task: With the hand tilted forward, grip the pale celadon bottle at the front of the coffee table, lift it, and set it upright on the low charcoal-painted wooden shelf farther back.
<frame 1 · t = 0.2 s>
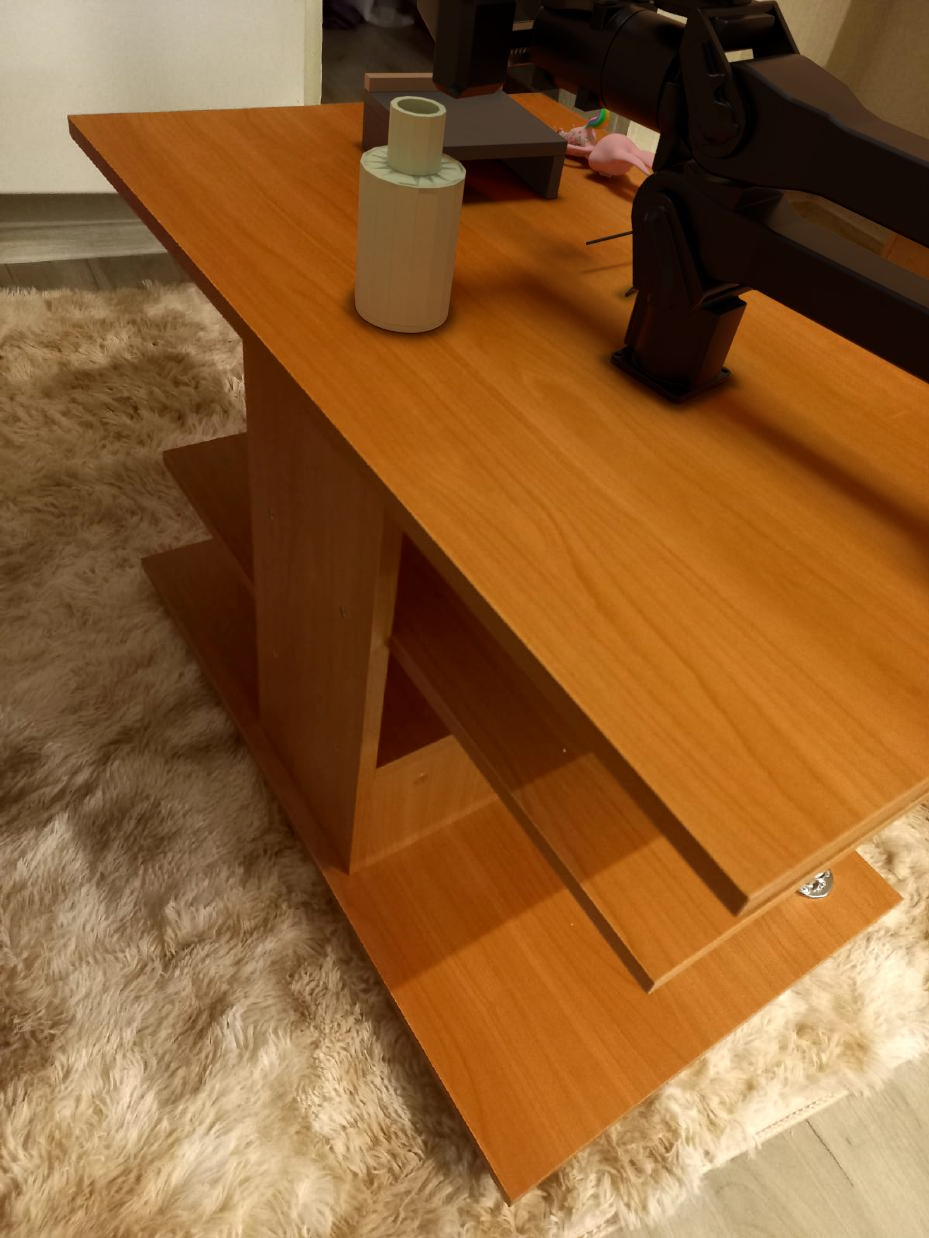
reed diffuser: (672, 259, 76), on the table
shelf: (457, 171, 83), on the table
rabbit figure: (601, 175, 87), on the table
bottle: (401, 308, 64), on the table
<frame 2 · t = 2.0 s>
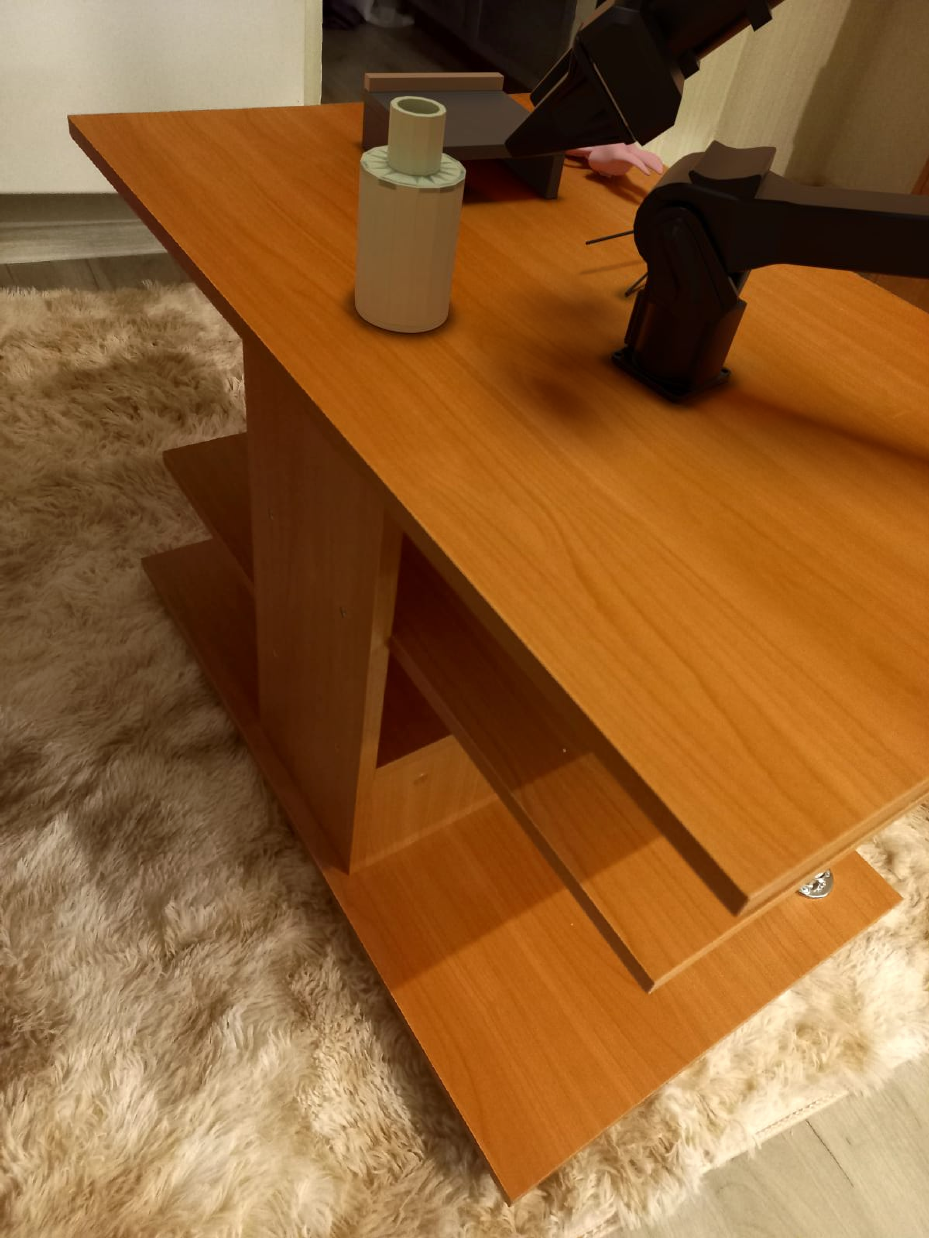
hand: (521, 125, 54), 14 cm above the table, tool tilted 45°, fingers open, 9 cm apart
nothing on the table moved.
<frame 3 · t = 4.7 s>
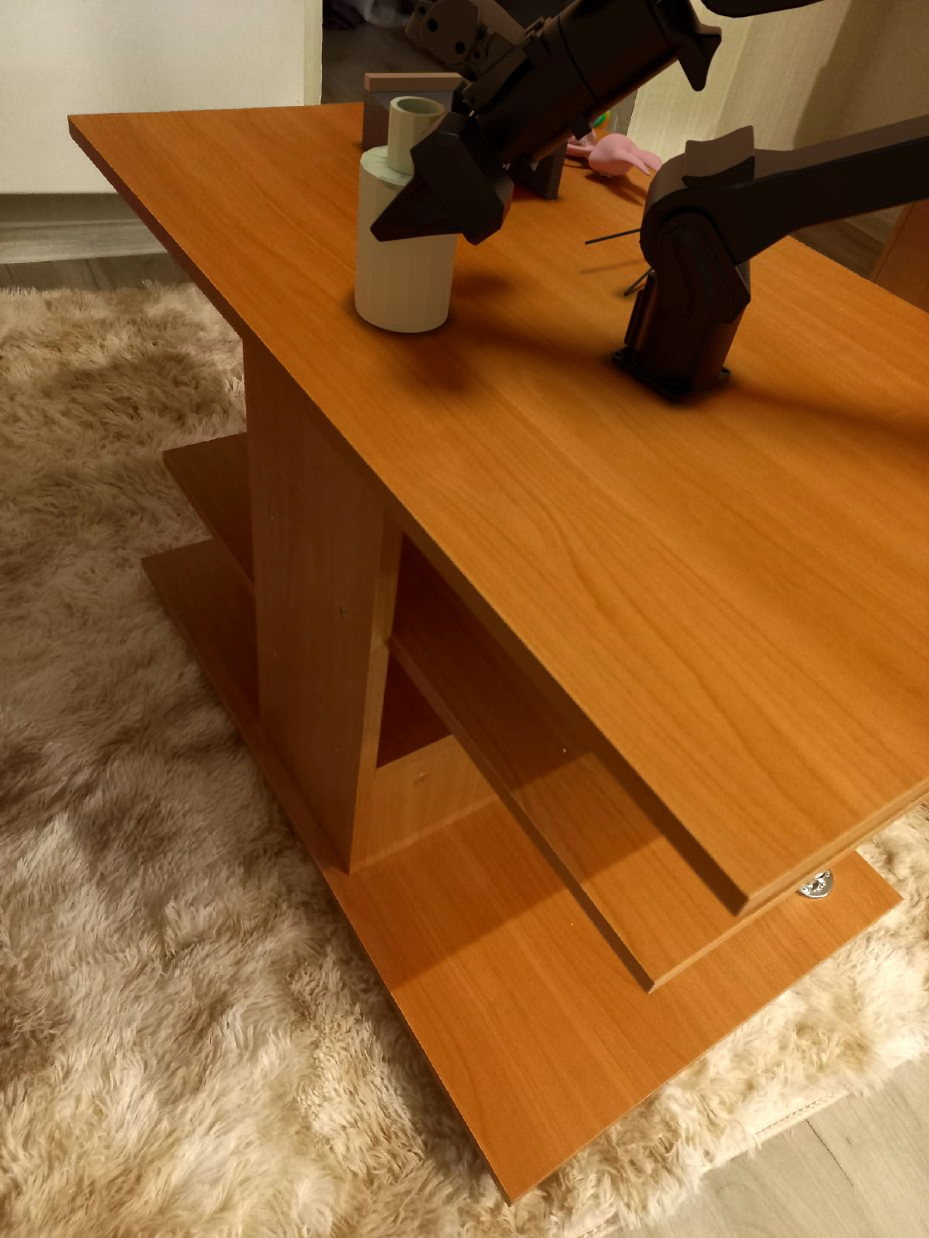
hand: (389, 213, 59), 7 cm above the table, tool tilted 45°, fingers closed on bottle, 7 cm apart
bottle: (401, 308, 64), on the table, touching gripper
everything else where it was.
when the fingers open (12 cm above the table, at t = 12.0 s): bottle stays where it is, resting on shelf.
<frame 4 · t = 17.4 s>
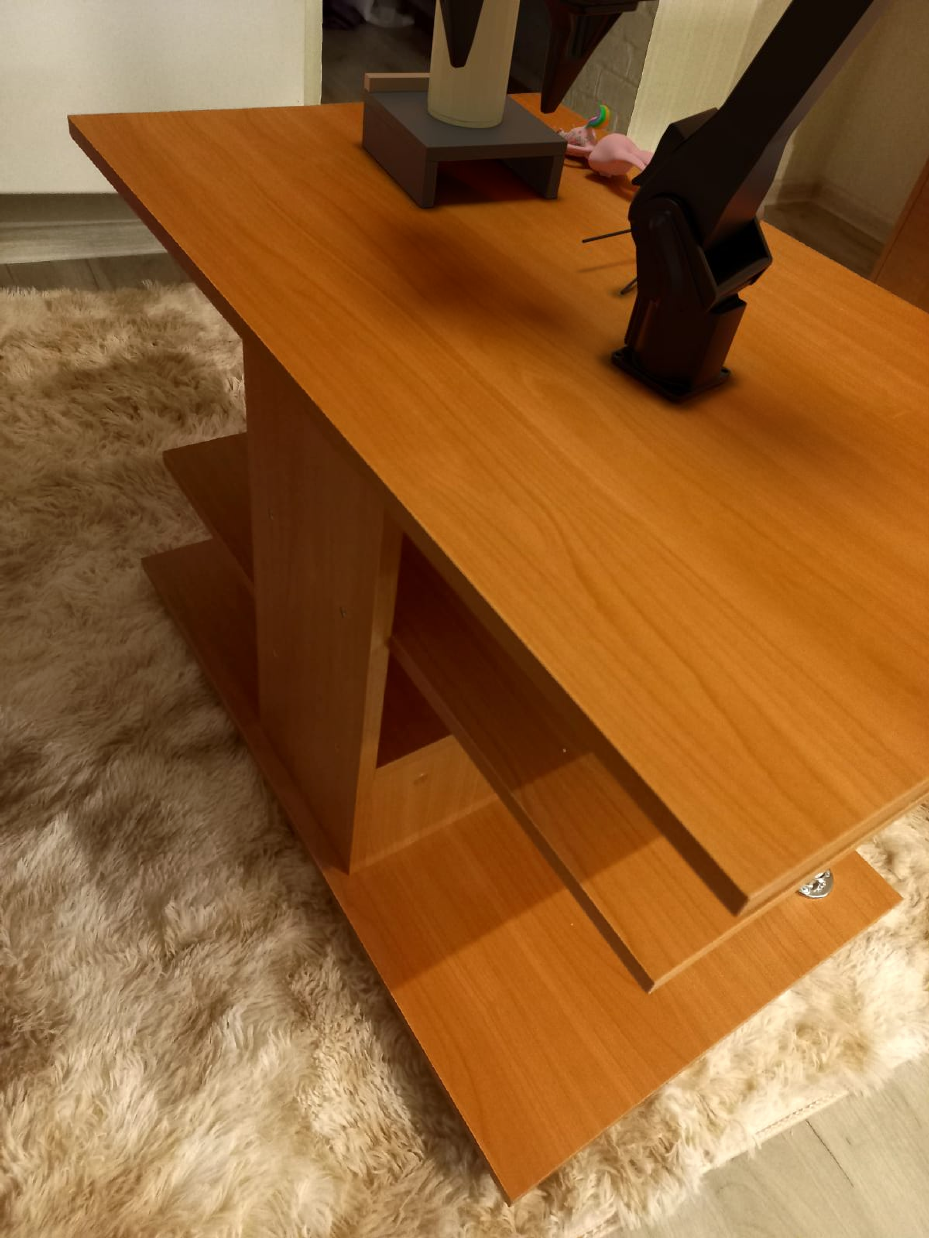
hand: (500, 89, 60), 13 cm above the table, tool pointing down, fingers open, 9 cm apart
bottle: (464, 114, 79), point 5 cm above the table, touching shelf
everything else where it was.
at the end: bottle inside the target area on the shelf (0.1 cm from its centre), point 5.0 cm above the shelf's base; bottle tilted 0°; the gripper is holding nothing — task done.
